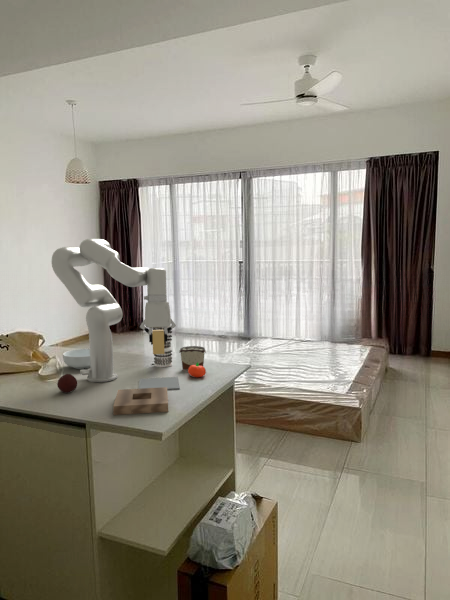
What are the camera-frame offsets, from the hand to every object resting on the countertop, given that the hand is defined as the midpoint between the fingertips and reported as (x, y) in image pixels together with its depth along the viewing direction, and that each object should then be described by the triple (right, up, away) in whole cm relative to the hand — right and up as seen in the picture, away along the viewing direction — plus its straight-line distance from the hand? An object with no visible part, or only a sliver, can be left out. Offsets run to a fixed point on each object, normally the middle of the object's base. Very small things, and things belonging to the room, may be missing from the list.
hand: (158, 343), depth 177 cm
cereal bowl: (-41, -14, +31) cm, 53 cm away
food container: (+12, -14, +27) cm, 33 cm away
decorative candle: (-3, -14, +34) cm, 36 cm away
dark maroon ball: (-34, -18, -7) cm, 39 cm away
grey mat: (0, -17, +2) cm, 17 cm away
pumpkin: (+14, -16, +13) cm, 25 cm away
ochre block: (0, -4, 0) cm, 4 cm away
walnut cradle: (-3, -19, -22) cm, 29 cm away
